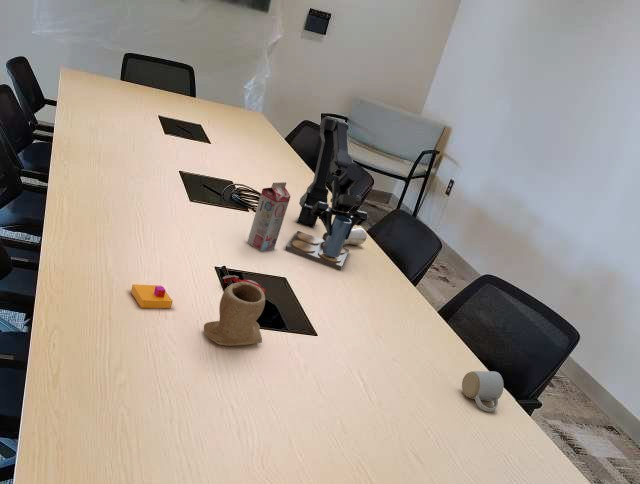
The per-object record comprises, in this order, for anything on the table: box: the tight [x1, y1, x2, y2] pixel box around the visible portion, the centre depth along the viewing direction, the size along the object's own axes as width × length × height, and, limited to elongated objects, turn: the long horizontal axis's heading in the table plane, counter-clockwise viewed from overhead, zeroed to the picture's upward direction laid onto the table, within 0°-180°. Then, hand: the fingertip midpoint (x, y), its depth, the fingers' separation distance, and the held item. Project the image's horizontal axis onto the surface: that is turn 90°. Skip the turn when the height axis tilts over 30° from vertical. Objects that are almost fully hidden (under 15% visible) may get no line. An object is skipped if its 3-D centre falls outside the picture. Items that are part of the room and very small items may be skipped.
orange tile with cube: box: [130, 284, 173, 309], centre depth 169 cm, size 8×8×4 cm
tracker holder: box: [222, 274, 266, 294], centre depth 189 cm, size 12×4×10 cm
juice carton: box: [246, 181, 292, 252], centre depth 219 cm, size 7×7×22 cm
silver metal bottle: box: [322, 227, 367, 246], centre depth 248 cm, size 6×7×20 cm
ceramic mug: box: [461, 370, 505, 413], centre depth 172 cm, size 11×8×8 cm
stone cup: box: [203, 282, 266, 346], centre depth 161 cm, size 15×12×15 cm
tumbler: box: [323, 215, 352, 257], centre depth 227 cm, size 6×6×12 cm
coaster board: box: [284, 230, 350, 271], centre depth 235 cm, size 20×20×2 cm
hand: (338, 237), depth 226 cm, fingers closed on tumbler, 6 cm apart
